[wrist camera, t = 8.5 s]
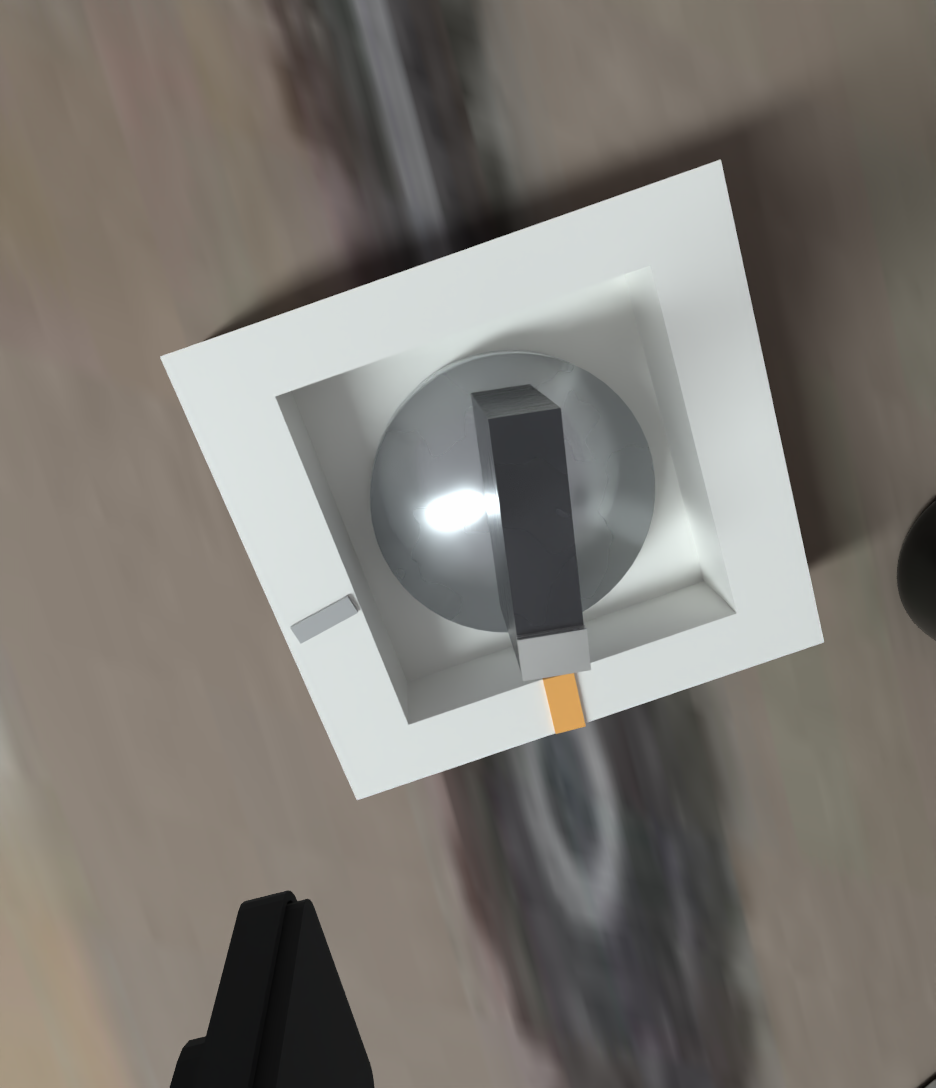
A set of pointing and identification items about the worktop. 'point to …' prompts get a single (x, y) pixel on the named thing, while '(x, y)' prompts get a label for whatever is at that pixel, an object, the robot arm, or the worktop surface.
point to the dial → (513, 500)
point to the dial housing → (545, 327)
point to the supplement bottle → (920, 572)
